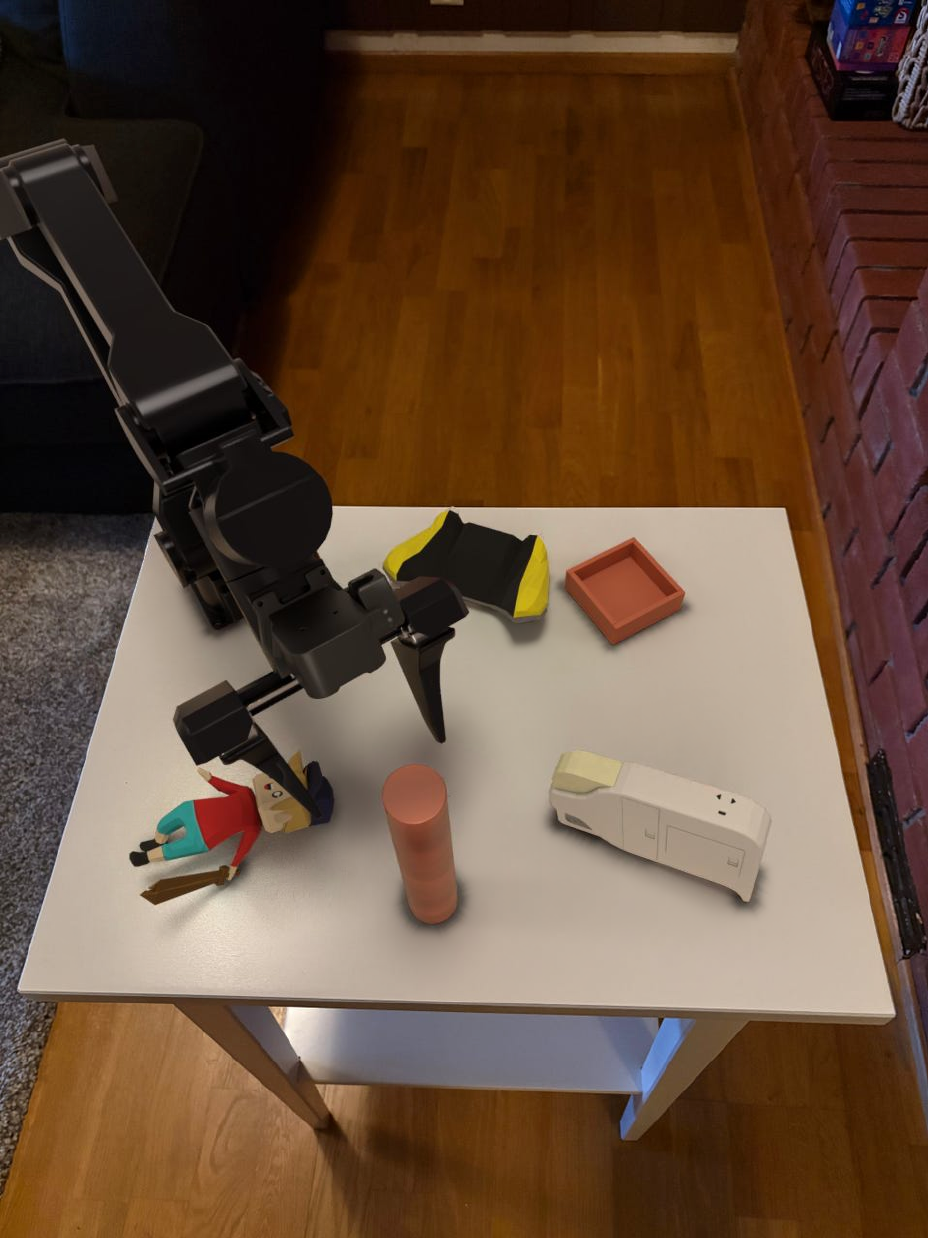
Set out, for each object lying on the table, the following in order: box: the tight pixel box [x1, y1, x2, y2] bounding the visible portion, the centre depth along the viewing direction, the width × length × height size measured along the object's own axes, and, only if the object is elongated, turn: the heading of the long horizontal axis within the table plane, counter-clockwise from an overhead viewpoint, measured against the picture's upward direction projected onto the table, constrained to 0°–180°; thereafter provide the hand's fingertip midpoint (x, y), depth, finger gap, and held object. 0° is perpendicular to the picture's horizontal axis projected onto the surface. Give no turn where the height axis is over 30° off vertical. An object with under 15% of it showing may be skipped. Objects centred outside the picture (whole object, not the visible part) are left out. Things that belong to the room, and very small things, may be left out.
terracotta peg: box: [381, 763, 459, 925], centre depth 56 cm, size 4×4×19 cm
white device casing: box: [548, 750, 772, 903], centre depth 62 cm, size 11×3×15 cm
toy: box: [128, 749, 335, 906], centre depth 64 cm, size 9×6×15 cm
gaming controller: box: [382, 505, 550, 624], centre depth 78 cm, size 15×6×10 cm
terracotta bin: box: [564, 536, 686, 646], centre depth 78 cm, size 8×8×2 cm
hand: (381, 778), depth 56 cm, fingers open, 9 cm apart
